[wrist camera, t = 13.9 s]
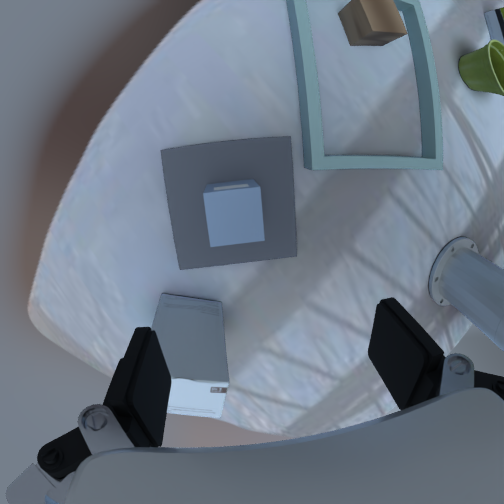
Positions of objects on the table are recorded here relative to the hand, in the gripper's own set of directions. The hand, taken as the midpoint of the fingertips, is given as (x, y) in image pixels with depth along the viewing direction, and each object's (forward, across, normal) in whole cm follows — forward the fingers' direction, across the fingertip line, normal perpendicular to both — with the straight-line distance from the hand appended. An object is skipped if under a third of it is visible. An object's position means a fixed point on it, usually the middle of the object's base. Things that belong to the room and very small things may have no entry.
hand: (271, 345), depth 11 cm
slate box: (+22, +1, -1) cm, 22 cm away
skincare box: (+23, +8, +13) cm, 27 cm away
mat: (+23, +1, -1) cm, 23 cm away
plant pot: (+23, -38, -22) cm, 49 cm away
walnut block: (+23, -17, -24) cm, 37 cm away
